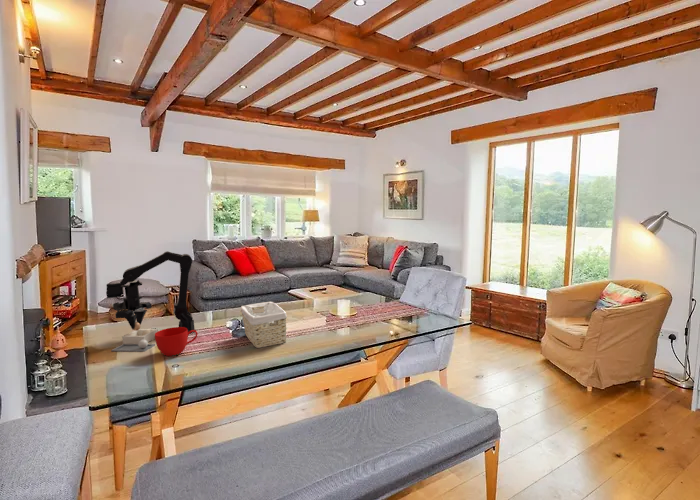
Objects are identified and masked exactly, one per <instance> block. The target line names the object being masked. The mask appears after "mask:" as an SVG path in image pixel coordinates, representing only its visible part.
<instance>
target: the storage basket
mask: <svg viewBox="0 0 700 500" xmlns="http://www.w3.org/2000/svg"><path fill="white" fill-rule="evenodd" d="M260 309H263V310H264V311H261V312H256V313H255V312H254V311H253V310H260ZM240 312H241V316H242V321H243V327H244V333H245V335H246V337H247V339H248V340H249V341H250V343H251V344H252V345H253V346H254V347H255V348H258V349H260V348H266V347H268V346H269V347H270V346H276V345H280V344H284V343H286V342H287V321H286V320H287V318H288V316H287V312H286V311H285V310H284V309H283V308H282V307H281V306H279V305H278V304H277V303H276V302H273V301H266V302H258V303H250V304H246V305H241V306H240Z"/></svg>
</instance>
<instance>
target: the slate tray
mask: <svg viewBox="0 0 700 500" xmlns="http://www.w3.org/2000/svg"><path fill="white" fill-rule="evenodd" d="M153 347H156V343H148V346H147V347H146V348H143V349H142V348H139V346H138V344H123V343H122V344H120V345H119V346H117V347H115V348H112V349H111V352H121V353H122V352H129V353H130V352H135V353H136V352H137V353H141V352H142V353H144V352H146V351H148V350H150V349H151V348H153Z"/></svg>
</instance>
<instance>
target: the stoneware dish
mask: <svg viewBox="0 0 700 500" xmlns="http://www.w3.org/2000/svg"><path fill="white" fill-rule="evenodd" d="M145 330H149V331H151V332H149V333H147V334H145V335H143V336H142V334H143V332H144V331H145ZM158 331H159V329H158V328H140V329H139V330H137V331H135V330H132V331H131V332H129V333H126V334H124V335H123V336H121V337H122V338H121V341H122V344H138V343H139V341H140V340H143V339H144V340H147V342H148V343H149V342H151V341H153V340H154V339H155V333H156V332H158Z"/></svg>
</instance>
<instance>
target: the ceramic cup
mask: <svg viewBox="0 0 700 500" xmlns="http://www.w3.org/2000/svg"><path fill="white" fill-rule="evenodd" d="M195 330H196V329H195ZM195 330H191V331H189V332H188V330H187V328H184V327H179V326H176V327H175V326H174V327H168V328H164V329H160V330H158V332H156V333H155V338H154V339H155V345H156V347H157V349H158V350H159V352H160V353H161V354H162V355H164V356H165V355H166V357H173V356H172V355H176V354H179V353H181V352H182V353H183V352H184V350H185V348H186V347H187V345H189V344H191V343H192V342H194V341H195V340H196V339H197V337H198V335H199V334H198V331H197V330H196V331H195ZM191 332H193V333H195V336H194V337H193V338H192V339H190V340H188V338H189V335H191V334H190V333H191ZM182 353H181V354H182Z"/></svg>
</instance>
